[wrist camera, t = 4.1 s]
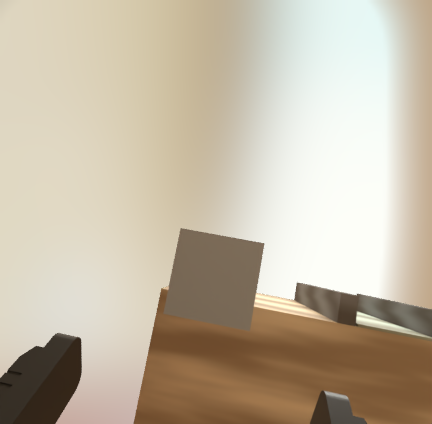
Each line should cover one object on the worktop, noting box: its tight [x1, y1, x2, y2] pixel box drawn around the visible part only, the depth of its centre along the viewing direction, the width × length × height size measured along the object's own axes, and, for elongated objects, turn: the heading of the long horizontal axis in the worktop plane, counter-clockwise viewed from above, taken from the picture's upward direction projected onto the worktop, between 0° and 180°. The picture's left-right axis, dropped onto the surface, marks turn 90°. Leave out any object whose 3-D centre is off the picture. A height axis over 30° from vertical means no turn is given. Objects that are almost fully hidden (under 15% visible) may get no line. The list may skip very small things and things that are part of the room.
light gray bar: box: [163, 228, 264, 331], centre depth 27 cm, size 26×4×4 cm, turn 177°
